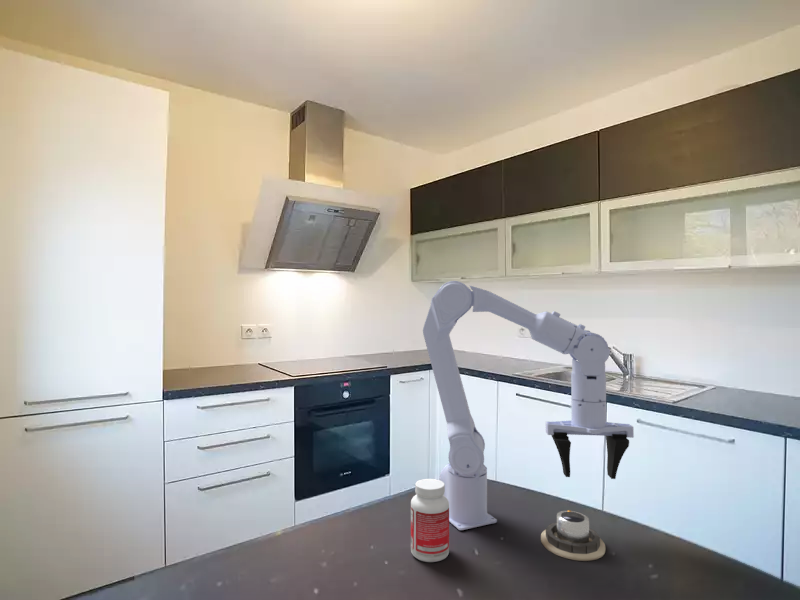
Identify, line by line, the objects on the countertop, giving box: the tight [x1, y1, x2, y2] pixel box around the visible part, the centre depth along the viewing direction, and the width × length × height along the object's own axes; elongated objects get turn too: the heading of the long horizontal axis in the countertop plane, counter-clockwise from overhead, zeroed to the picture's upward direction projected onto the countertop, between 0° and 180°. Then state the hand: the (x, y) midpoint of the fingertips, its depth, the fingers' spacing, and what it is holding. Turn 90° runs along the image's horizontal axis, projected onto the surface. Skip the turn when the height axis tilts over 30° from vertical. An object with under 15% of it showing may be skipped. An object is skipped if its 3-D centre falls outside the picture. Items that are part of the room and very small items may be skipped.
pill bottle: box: [410, 478, 450, 563], centre depth 74 cm, size 6×6×11 cm
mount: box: [540, 521, 606, 562], centre depth 76 cm, size 10×10×2 cm
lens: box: [556, 509, 590, 544], centre depth 76 cm, size 5×5×4 cm
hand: (588, 476), depth 82 cm, fingers open, 7 cm apart
